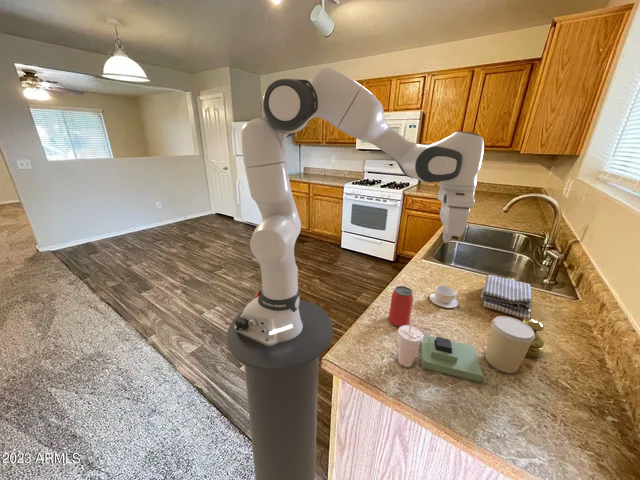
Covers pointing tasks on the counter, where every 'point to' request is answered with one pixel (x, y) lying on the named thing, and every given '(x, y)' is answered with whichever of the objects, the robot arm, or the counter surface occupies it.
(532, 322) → the gold stacked stones ornament
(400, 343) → the smoothie
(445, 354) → the green flat stepped block
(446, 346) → the key
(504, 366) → the coffee cup
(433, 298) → the teacup
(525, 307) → the towel
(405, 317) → the beer can
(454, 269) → the counter surface
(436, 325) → the counter surface
